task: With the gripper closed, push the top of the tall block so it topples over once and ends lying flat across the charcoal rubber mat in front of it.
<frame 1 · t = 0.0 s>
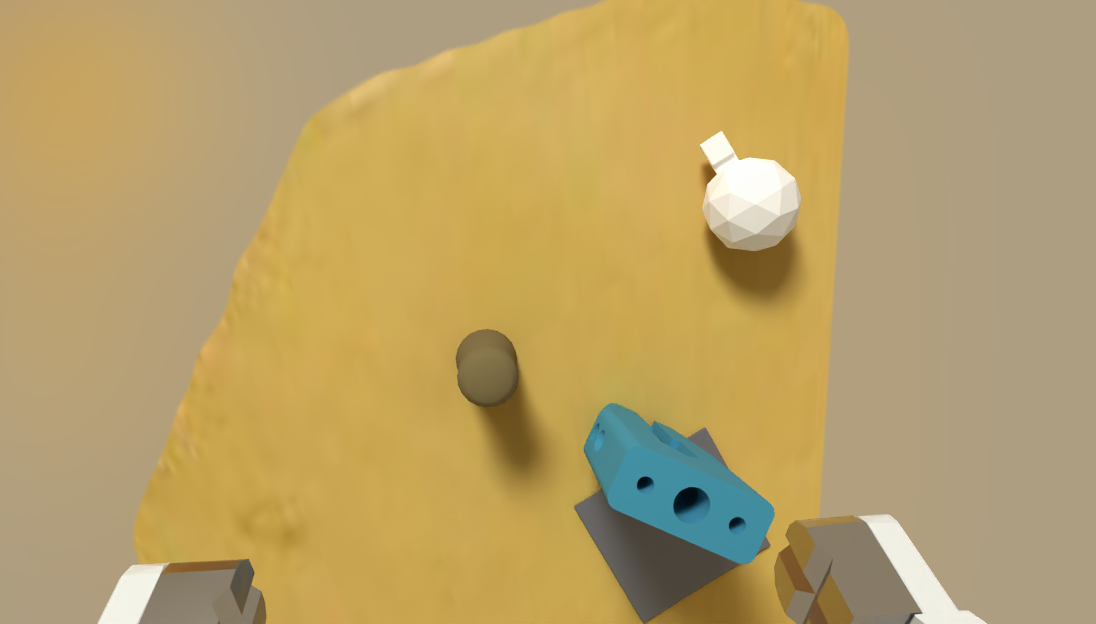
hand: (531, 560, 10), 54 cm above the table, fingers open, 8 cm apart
white faceted ball: (730, 194, 66), on the table
cork: (486, 358, 64), on the table
mat: (673, 525, 68), on the table
block: (634, 438, 66), on the table
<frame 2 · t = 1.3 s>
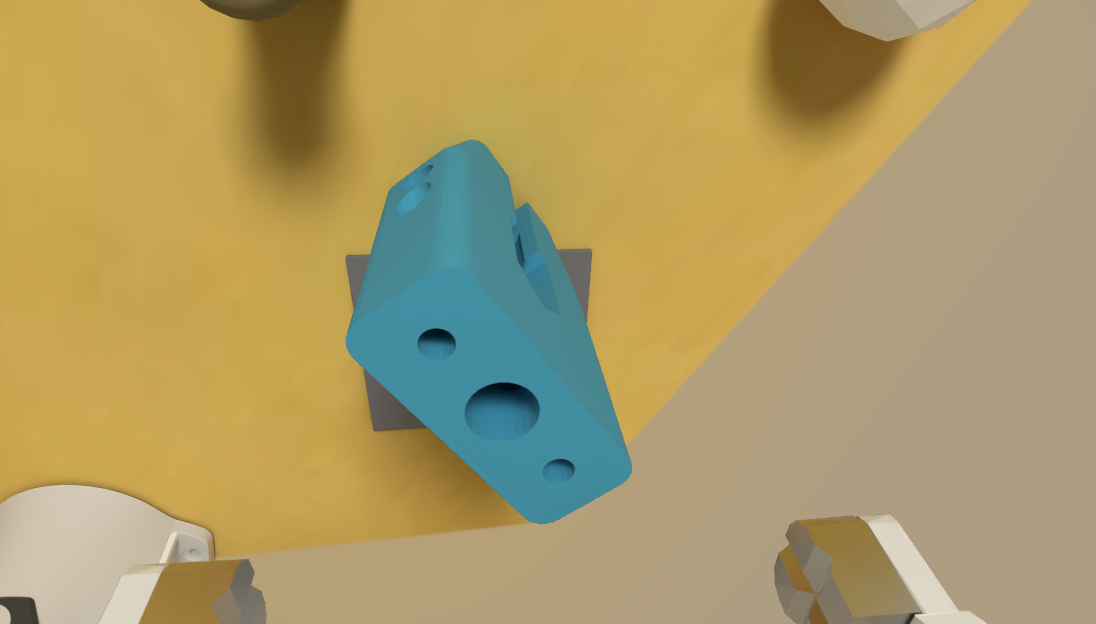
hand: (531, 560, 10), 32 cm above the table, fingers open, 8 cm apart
mat: (475, 344, 46), on the table
block: (485, 210, 41), on the table, touching mat
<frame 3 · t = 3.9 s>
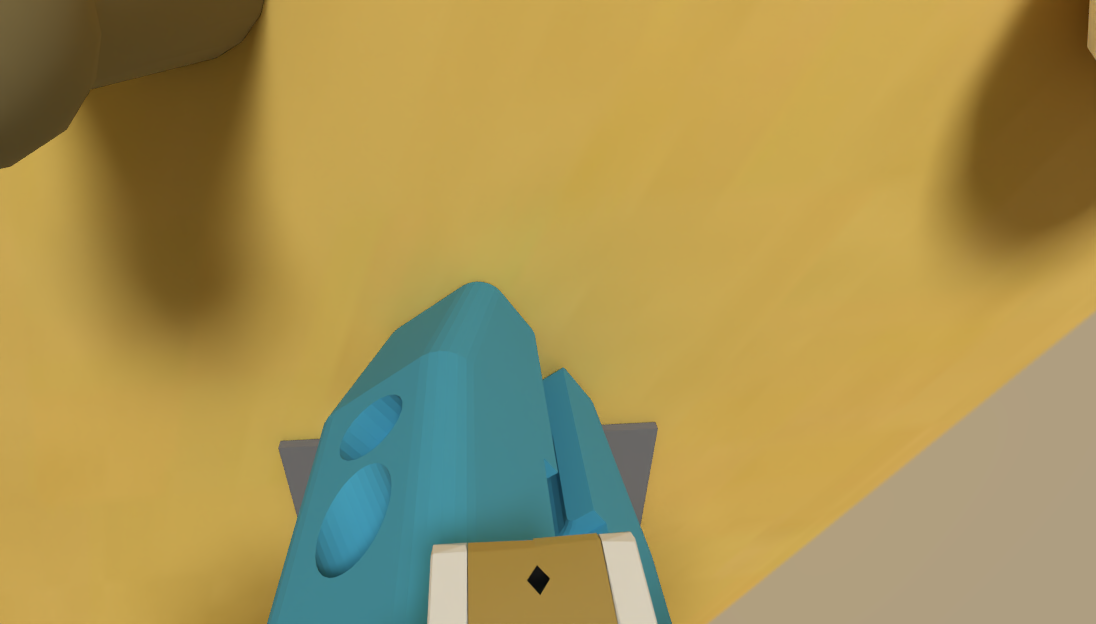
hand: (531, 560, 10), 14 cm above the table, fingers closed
mat: (478, 541, 32), on the table
block: (496, 377, 26), on the table, touching gripper, mat
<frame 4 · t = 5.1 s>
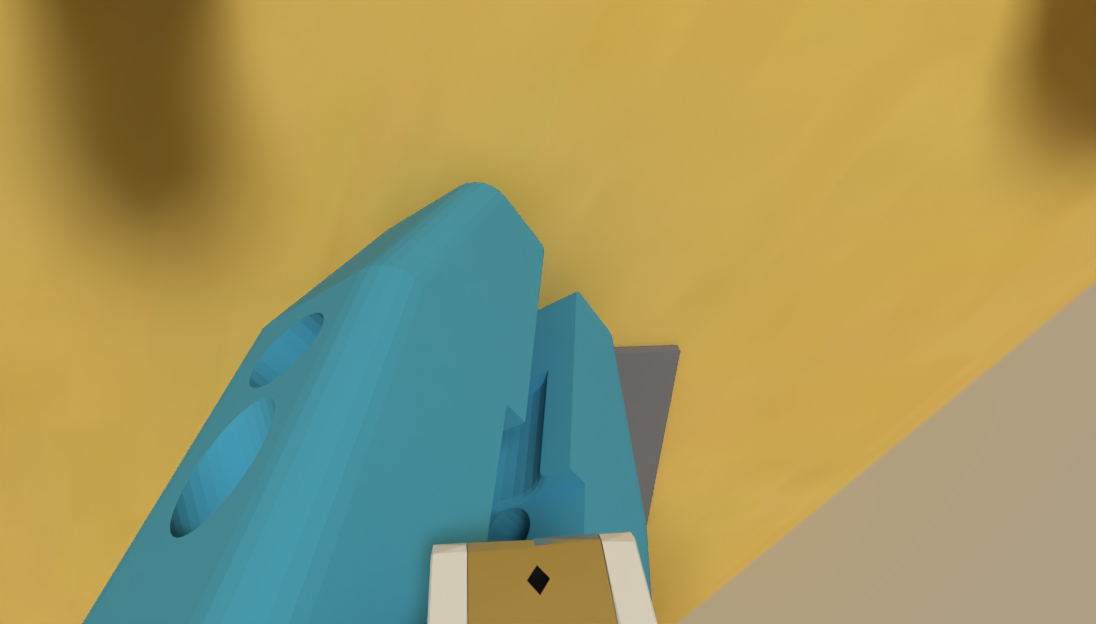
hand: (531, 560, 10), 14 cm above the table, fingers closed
mat: (480, 483, 29), on the table
block: (501, 295, 23), point 1 cm above the table, touching mat
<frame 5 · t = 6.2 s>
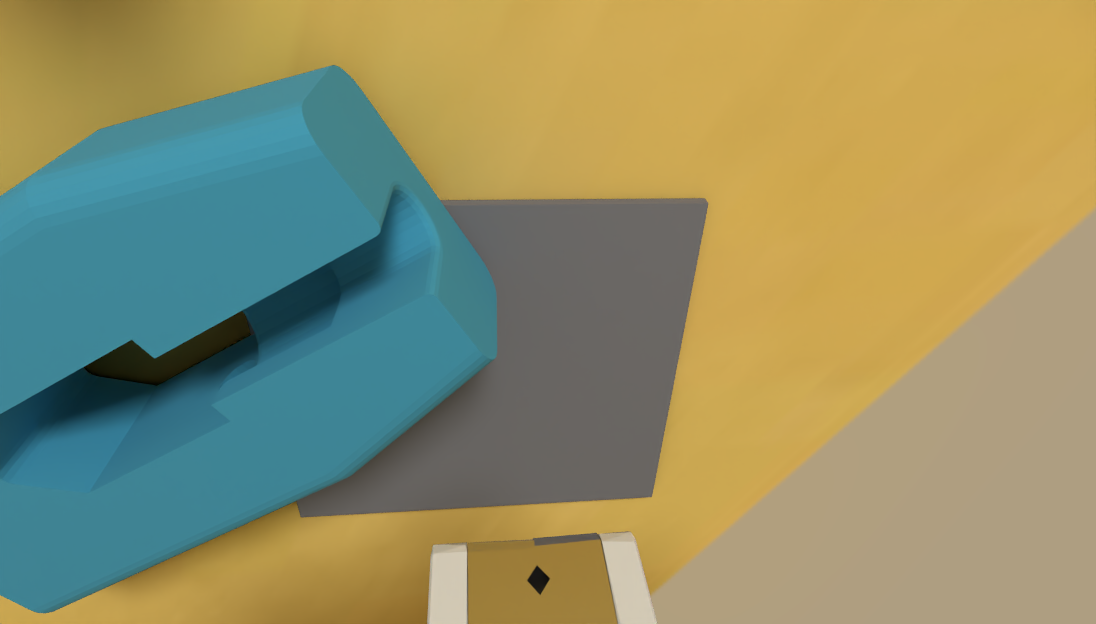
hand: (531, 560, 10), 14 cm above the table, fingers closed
mat: (477, 374, 25), on the table
block: (424, 213, 18), point 3 cm above the table, touching mat
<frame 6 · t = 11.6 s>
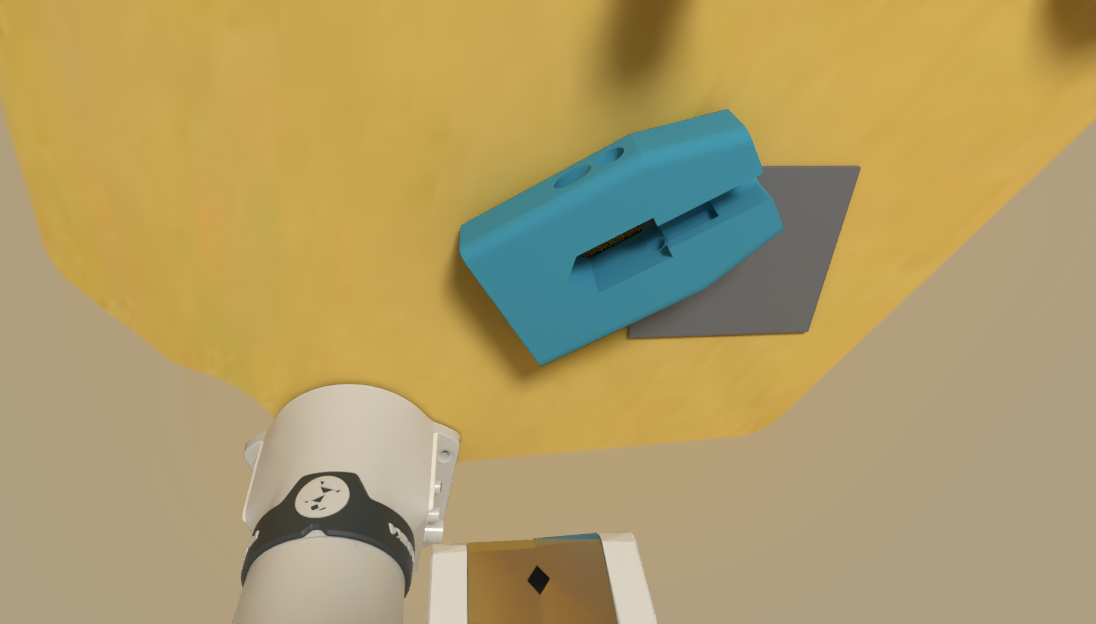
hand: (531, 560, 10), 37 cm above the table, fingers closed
mat: (735, 256, 51), on the table
block: (758, 169, 44), point 3 cm above the table, touching mat
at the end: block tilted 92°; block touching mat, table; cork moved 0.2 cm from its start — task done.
